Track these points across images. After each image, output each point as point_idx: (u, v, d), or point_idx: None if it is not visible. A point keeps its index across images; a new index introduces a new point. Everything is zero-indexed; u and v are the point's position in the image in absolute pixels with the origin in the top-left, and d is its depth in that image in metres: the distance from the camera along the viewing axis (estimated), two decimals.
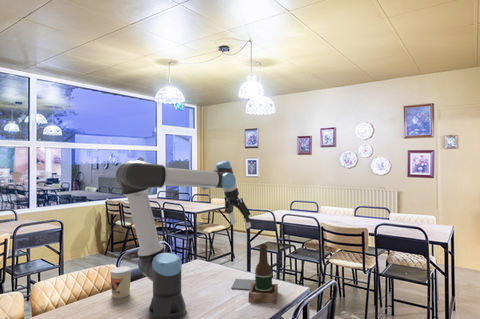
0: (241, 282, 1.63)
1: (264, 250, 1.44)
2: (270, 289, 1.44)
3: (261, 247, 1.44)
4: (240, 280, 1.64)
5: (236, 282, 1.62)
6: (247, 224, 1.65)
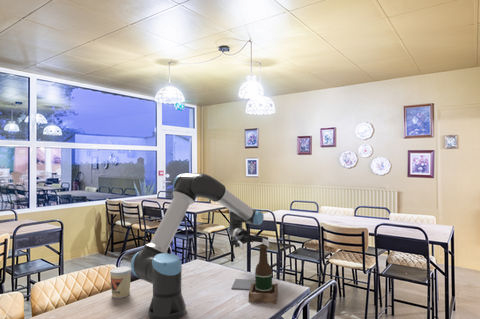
0: (241, 282, 1.63)
1: (264, 250, 1.44)
2: (270, 289, 1.44)
3: (261, 247, 1.44)
4: (240, 280, 1.64)
5: (236, 282, 1.62)
6: None
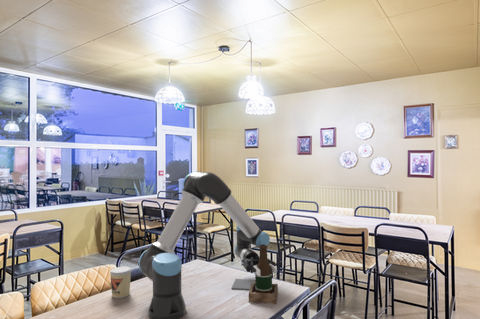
0: (241, 282, 1.63)
1: (264, 250, 1.44)
2: (270, 289, 1.44)
3: (261, 247, 1.44)
4: (240, 280, 1.64)
5: (236, 282, 1.62)
6: None
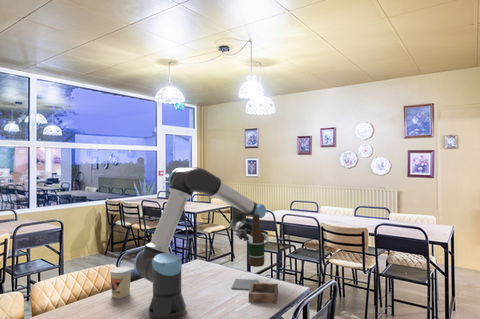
0: (241, 282, 1.63)
1: (256, 219, 1.50)
2: (262, 256, 1.50)
3: (254, 216, 1.51)
4: (240, 280, 1.64)
5: (236, 282, 1.62)
6: None
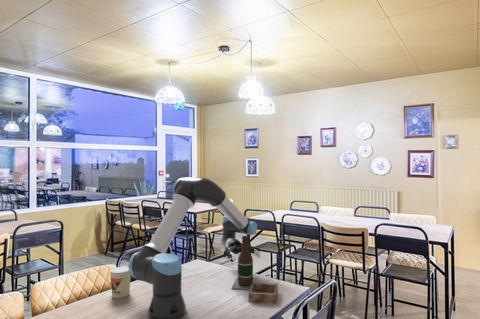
0: None
1: (246, 241, 1.59)
2: (251, 276, 1.58)
3: (243, 238, 1.59)
4: None
5: (236, 282, 1.62)
6: None
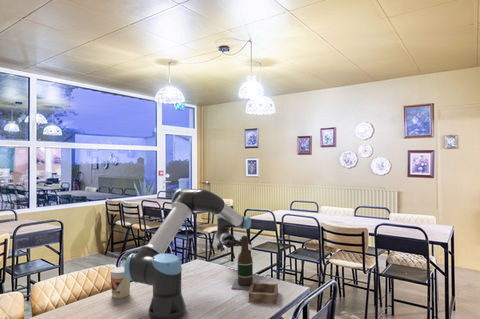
0: None
1: (245, 241, 1.59)
2: (251, 276, 1.58)
3: (243, 238, 1.59)
4: None
5: (236, 282, 1.62)
6: None
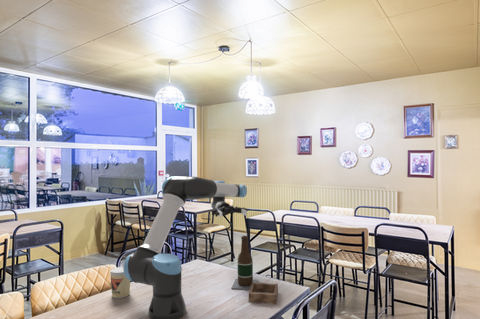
0: None
1: (245, 241, 1.59)
2: (251, 276, 1.58)
3: (243, 238, 1.59)
4: None
5: (236, 282, 1.62)
6: None
